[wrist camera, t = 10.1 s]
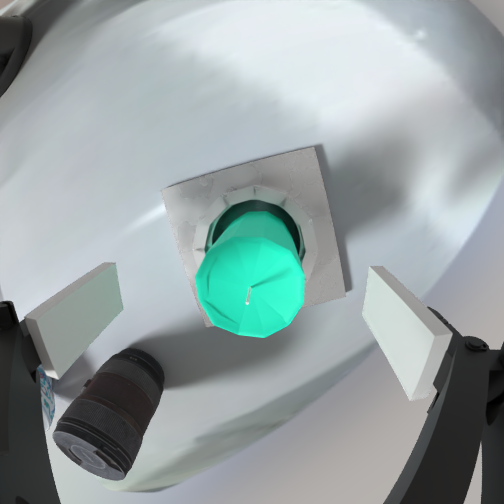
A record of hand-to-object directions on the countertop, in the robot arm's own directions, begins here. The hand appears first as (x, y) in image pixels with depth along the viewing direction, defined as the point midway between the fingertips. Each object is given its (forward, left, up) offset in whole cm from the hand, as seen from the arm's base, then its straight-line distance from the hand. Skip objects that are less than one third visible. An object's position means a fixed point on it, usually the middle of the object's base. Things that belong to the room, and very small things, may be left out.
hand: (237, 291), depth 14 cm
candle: (0, 0, -12) cm, 12 cm away
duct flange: (0, 0, -12) cm, 12 cm away
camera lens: (+12, -18, -13) cm, 25 cm away
